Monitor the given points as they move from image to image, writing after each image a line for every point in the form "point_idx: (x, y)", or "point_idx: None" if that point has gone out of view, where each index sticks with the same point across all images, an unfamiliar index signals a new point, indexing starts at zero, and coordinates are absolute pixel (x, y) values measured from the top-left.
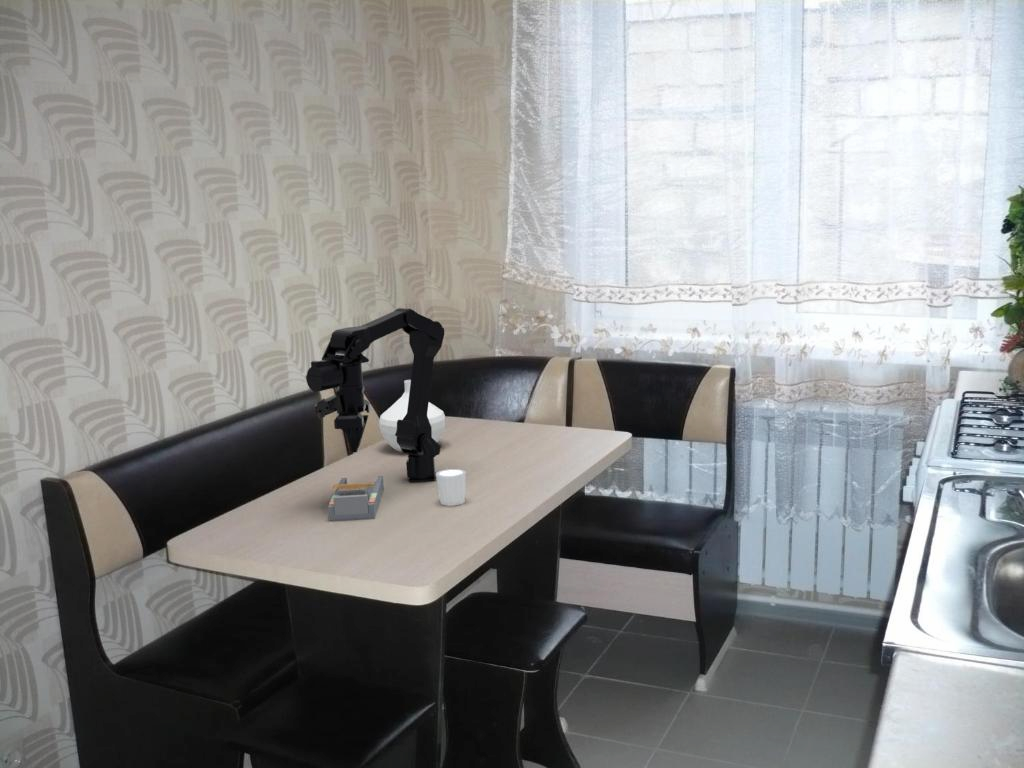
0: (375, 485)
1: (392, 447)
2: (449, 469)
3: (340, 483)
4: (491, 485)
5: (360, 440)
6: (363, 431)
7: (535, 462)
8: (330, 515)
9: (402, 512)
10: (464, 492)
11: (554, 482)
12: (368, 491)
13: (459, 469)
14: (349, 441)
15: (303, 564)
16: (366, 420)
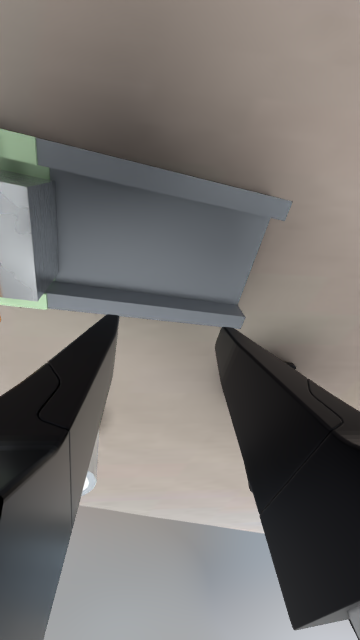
0: (146, 307)
1: None
2: (89, 481)
3: (223, 191)
4: (159, 459)
5: (222, 388)
6: (244, 459)
7: (246, 491)
8: None
9: (5, 340)
10: None
11: (142, 506)
12: (177, 276)
13: (86, 492)
14: (55, 360)
15: None
16: (280, 586)
